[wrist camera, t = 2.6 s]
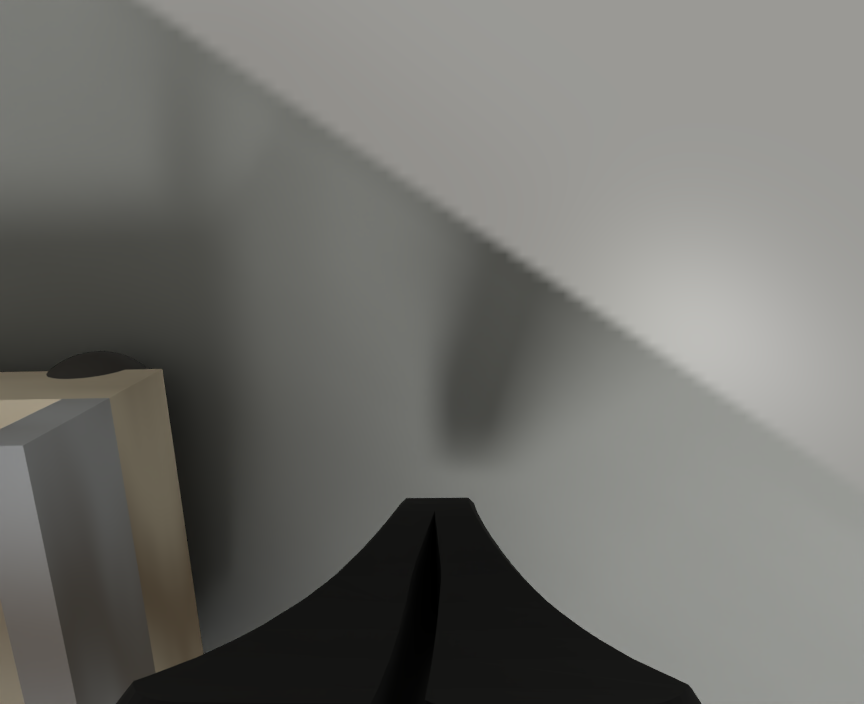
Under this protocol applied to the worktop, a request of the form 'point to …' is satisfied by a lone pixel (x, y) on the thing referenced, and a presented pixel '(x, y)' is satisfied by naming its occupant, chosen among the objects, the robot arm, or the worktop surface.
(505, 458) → the worktop surface
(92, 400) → the footed beige box
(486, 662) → the robot arm
